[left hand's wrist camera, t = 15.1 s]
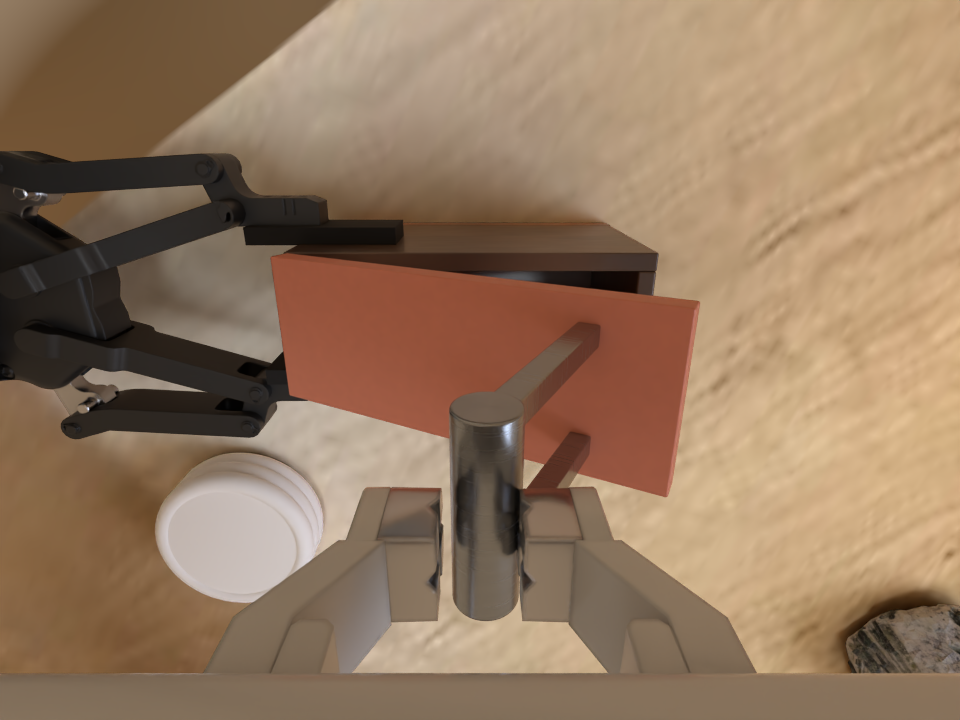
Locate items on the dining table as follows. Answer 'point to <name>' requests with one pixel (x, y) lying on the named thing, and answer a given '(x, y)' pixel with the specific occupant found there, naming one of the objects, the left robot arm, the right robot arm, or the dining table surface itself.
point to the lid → (493, 386)
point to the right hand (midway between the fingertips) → (402, 302)
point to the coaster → (239, 526)
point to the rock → (908, 642)
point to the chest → (515, 253)
